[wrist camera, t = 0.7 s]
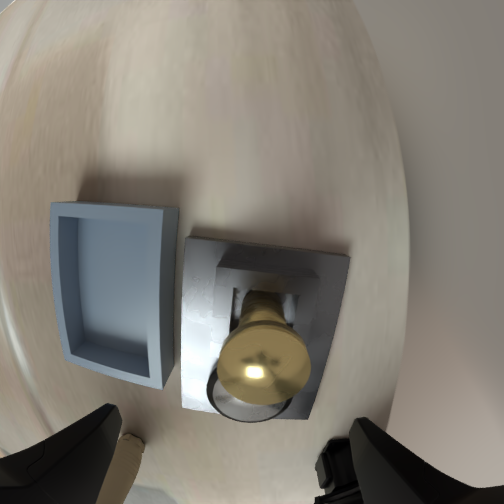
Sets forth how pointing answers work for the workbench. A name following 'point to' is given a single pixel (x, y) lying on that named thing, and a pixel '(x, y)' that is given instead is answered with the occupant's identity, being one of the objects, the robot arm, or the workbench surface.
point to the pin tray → (115, 287)
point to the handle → (122, 470)
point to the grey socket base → (229, 307)
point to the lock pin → (263, 354)
